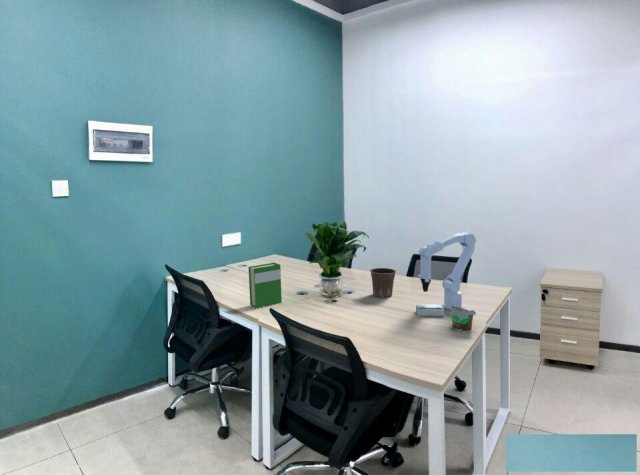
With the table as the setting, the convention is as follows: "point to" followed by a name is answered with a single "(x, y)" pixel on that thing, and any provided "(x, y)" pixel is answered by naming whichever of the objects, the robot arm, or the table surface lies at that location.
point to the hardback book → (265, 284)
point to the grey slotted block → (429, 312)
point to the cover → (429, 306)
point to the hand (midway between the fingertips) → (425, 291)
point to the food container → (462, 318)
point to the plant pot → (382, 281)
